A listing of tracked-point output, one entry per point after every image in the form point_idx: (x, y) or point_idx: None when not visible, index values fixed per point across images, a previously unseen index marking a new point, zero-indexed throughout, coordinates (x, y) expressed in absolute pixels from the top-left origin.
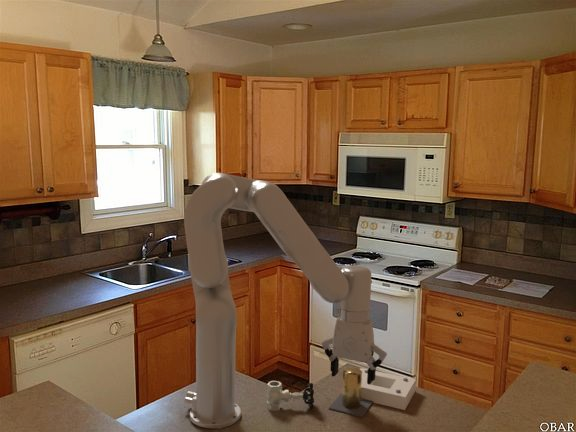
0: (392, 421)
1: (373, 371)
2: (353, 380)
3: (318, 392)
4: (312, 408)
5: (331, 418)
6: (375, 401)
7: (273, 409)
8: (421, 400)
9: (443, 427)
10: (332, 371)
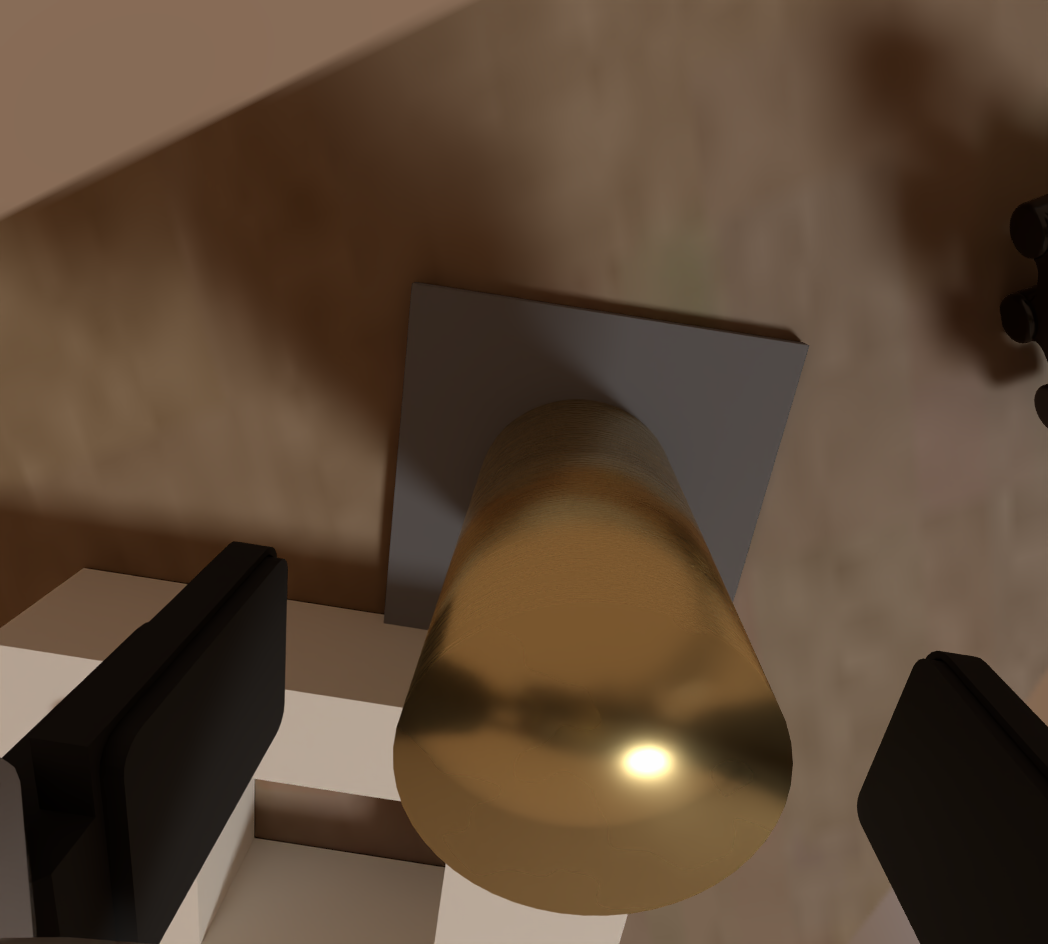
0: (113, 314)
1: (16, 749)
2: (535, 552)
3: (943, 648)
4: (1024, 206)
5: (749, 130)
6: (359, 620)
7: None
8: None
9: None
10: (1022, 711)
